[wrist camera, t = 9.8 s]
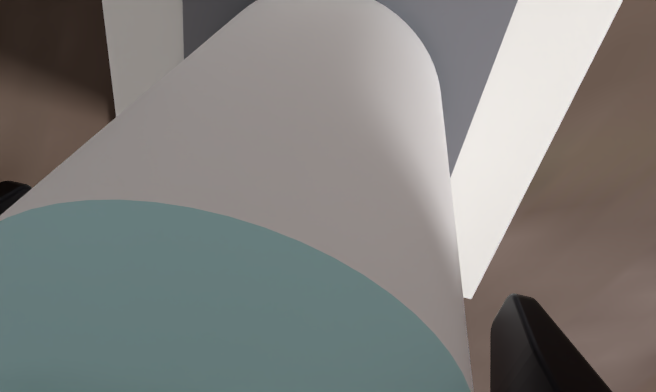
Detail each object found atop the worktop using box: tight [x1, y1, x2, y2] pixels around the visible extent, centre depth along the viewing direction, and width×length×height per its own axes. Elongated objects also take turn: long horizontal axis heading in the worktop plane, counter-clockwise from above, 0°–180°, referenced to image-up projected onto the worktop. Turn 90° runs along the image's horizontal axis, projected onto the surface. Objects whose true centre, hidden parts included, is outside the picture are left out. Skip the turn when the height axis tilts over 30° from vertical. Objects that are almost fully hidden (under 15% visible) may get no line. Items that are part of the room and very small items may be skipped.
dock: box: [102, 0, 623, 299], centre depth 15 cm, size 14×14×1 cm
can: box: [0, 0, 474, 392], centre depth 10 cm, size 7×7×12 cm
